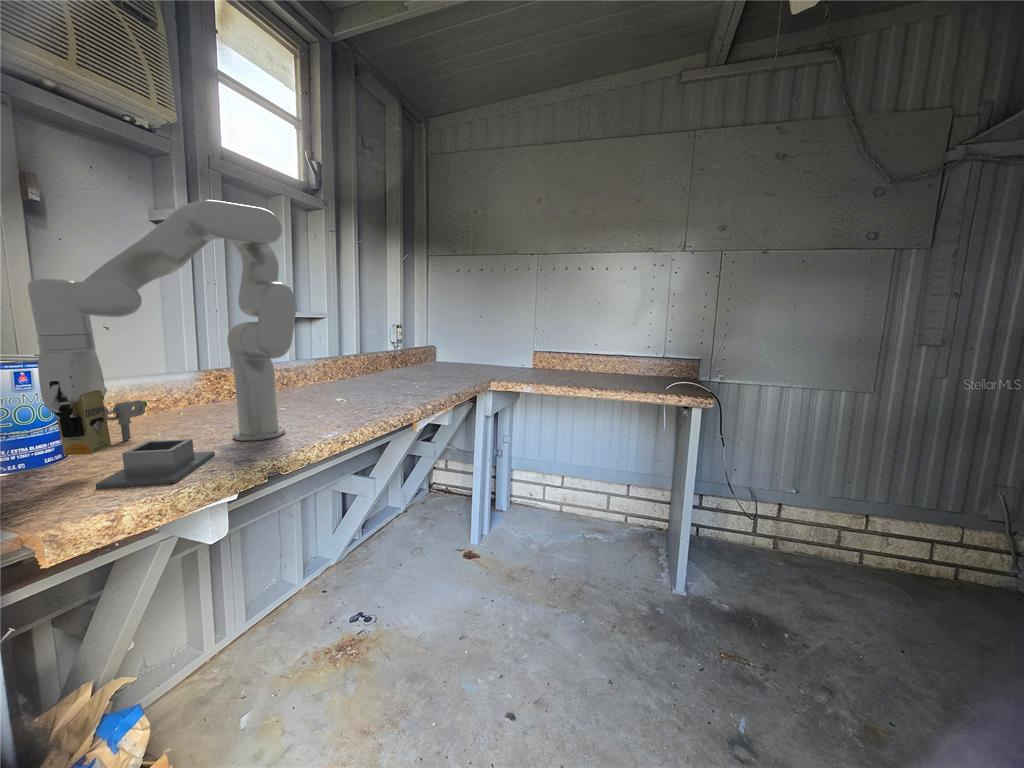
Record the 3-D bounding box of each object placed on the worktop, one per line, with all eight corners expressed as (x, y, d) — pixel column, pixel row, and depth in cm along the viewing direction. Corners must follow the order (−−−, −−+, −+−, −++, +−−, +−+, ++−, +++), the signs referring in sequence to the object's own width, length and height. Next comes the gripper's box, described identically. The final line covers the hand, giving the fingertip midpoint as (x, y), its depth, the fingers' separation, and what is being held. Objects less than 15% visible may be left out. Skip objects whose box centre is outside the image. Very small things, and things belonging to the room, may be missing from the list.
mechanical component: (99, 444, 107) (93, 406, 105) (145, 434, 116) (141, 399, 115) (106, 446, 106) (101, 407, 104) (152, 435, 115) (148, 400, 114)
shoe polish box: (111, 445, 89) (101, 390, 87) (92, 453, 84) (81, 395, 82) (84, 446, 88) (74, 391, 86) (64, 454, 83) (52, 396, 81)
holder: (151, 458, 97) (148, 435, 97) (214, 455, 100) (212, 433, 100) (96, 489, 80) (92, 461, 79) (174, 483, 83) (171, 457, 82)
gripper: (77, 340, 90) (92, 422, 93) (3, 348, 73) (25, 447, 77) (119, 340, 91) (132, 420, 95) (56, 347, 75) (75, 444, 78)
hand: (84, 431), depth 86 cm, fingers closed on shoe polish box, 5 cm apart
